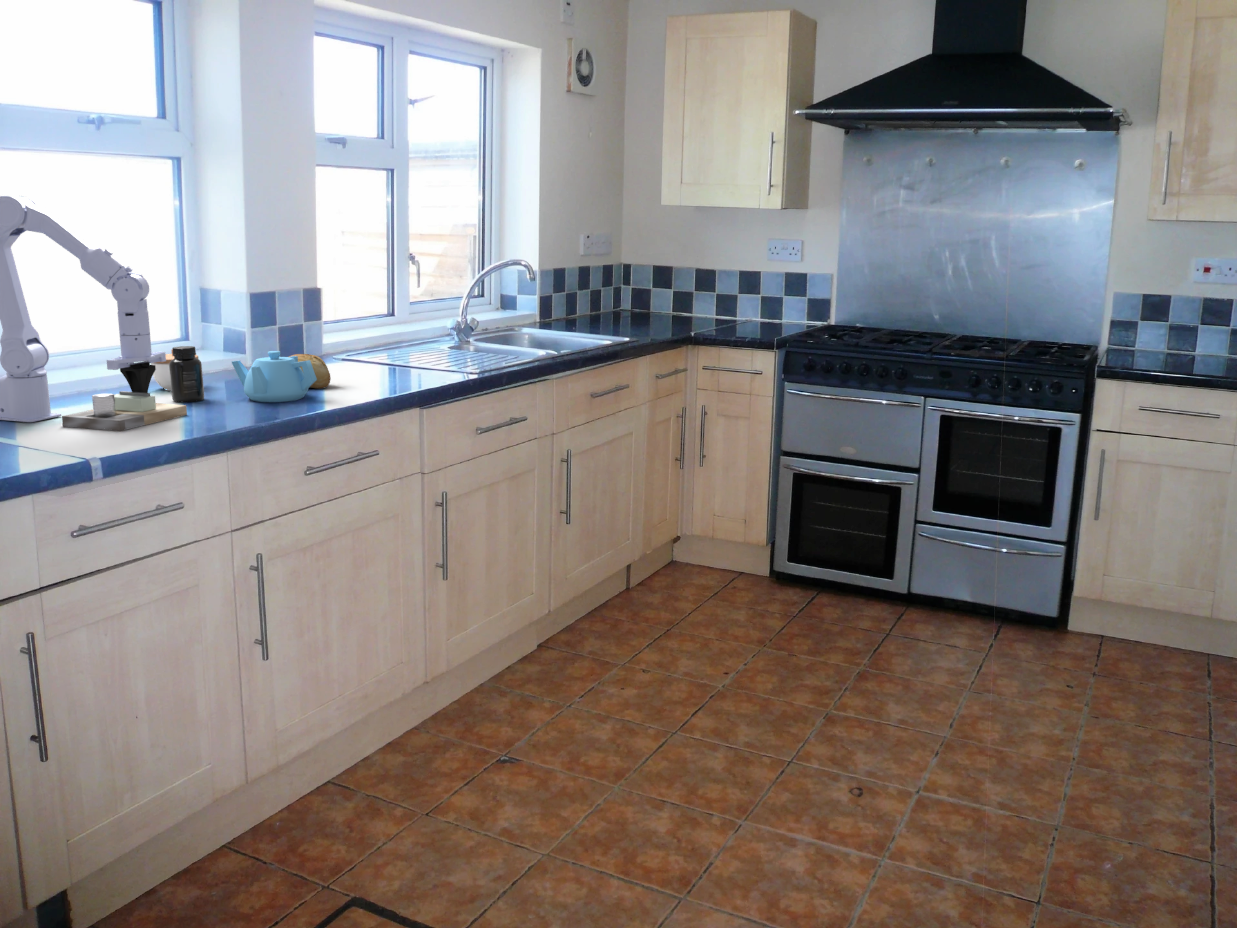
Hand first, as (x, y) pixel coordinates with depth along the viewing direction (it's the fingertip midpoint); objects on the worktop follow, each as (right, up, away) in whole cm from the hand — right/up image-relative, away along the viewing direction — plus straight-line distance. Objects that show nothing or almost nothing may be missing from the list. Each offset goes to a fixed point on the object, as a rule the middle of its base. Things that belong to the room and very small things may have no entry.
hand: (140, 400), depth 230 cm
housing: (-1, -4, -3) cm, 5 cm away
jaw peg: (-3, -5, -8) cm, 10 cm away
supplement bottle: (+2, +1, +21) cm, 21 cm away
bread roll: (+22, +5, +42) cm, 48 cm away
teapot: (+20, +2, +25) cm, 32 cm away
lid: (-1, -2, -2) cm, 3 cm away
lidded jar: (-7, +5, +37) cm, 38 cm away
